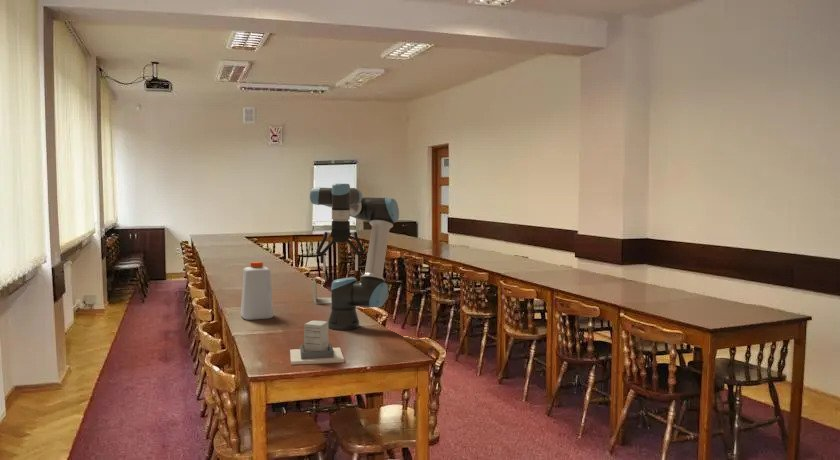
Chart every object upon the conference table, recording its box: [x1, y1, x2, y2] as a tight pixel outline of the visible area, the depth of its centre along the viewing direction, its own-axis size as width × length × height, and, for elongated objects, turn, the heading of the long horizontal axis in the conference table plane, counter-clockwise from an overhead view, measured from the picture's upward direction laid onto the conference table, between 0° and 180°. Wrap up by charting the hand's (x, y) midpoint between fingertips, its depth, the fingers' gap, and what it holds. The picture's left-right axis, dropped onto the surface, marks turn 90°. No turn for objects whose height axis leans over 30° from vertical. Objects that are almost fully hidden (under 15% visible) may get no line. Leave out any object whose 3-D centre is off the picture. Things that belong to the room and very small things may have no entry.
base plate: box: [289, 347, 345, 366], centre depth 255 cm, size 18×20×1 cm
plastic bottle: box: [240, 261, 274, 321], centre depth 329 cm, size 15×15×28 cm
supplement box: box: [303, 320, 329, 352], centre depth 255 cm, size 7×7×13 cm
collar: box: [299, 343, 334, 359], centre depth 255 cm, size 12×12×2 cm
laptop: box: [312, 277, 331, 305], centre depth 376 cm, size 18×12×13 cm
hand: (340, 270), depth 273 cm, fingers open, 13 cm apart
